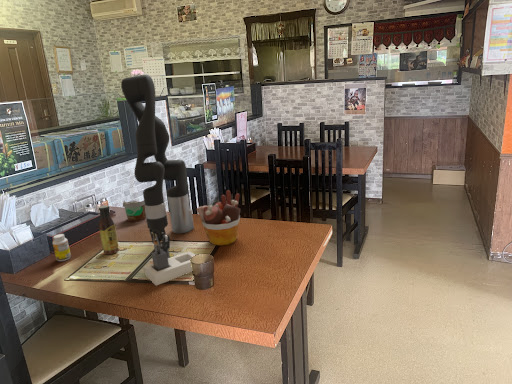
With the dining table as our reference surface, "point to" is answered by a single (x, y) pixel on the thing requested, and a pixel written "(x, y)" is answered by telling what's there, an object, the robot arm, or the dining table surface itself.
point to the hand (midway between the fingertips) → (162, 256)
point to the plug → (156, 248)
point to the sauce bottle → (107, 231)
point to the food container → (135, 210)
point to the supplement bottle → (61, 247)
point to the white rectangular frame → (168, 266)
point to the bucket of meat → (221, 220)
